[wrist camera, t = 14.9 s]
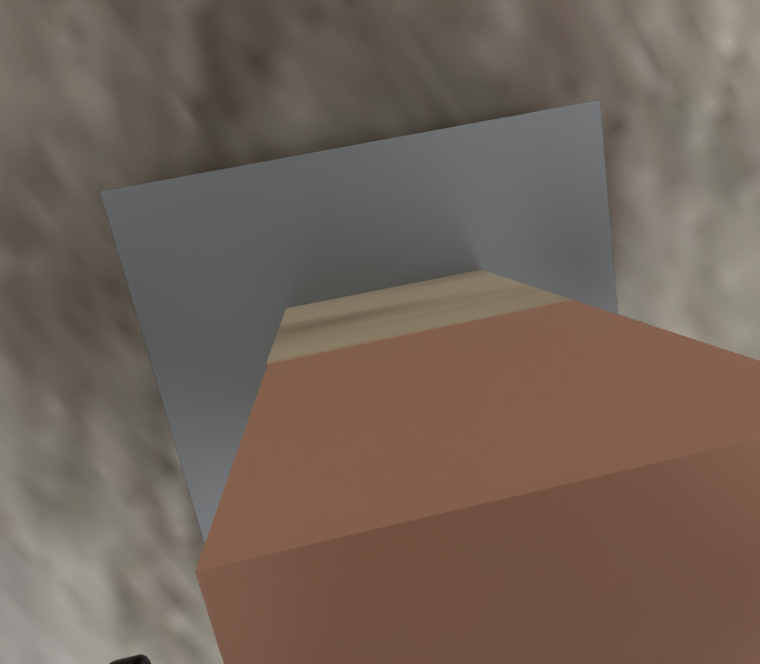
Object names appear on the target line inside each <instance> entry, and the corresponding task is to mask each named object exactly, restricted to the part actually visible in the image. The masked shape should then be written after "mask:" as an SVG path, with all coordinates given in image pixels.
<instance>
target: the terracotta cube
mask: <svg viewBox="0 0 760 664" xmlns="http://www.w3.org/2000/svg"><path fill="white" fill-rule="evenodd" d="M195 572H196V575H197V578H198V582H199V585H200V588H201V591H202V595H203V598H204V601H205V604H206V608H207V611H208V614H209V617H210V620H211V624H212V627H213V630H214V633H215V637H216V640H217V643H218V646H219V649H220V653H221V656H222V659H223V662H224V664H760V361H758V360H755V359H752V358H749V357H746V356H743V355H740V354H736V353H733V352H730V351H727V350H724V349H721V348H718V347H715V346H712V345H709V344H706V343H703V342H700V341H697V340H694V339H691V338H688V337H685V336H682V335H679V334H676V333H673V332H670V331H667V330H664V329H660V328H657V327H654V326H651V325H648V324H645V323H642V322H639V321H636V320H633V319H630V318H627V317H624V316H621V315H618V314H615V313H612V312H609V311H606V310H603V309H600V308H597V307H594V306H591V305H588V304H584V303H581V302H578V301H575V300H569V301H564V302H559V303H555V304H550V305H545V306H540V307H536V308H531V309H526V310H521V311H517V312H512V313H507V314H502V315H498V316H493V317H488V318H483V319H479V320H474V321H469V322H465V323H460V324H455V325H450V326H446V327H441V328H436V329H431V330H427V331H422V332H417V333H412V334H408V335H403V336H398V337H393V338H389V339H384V340H379V341H375V342H370V343H365V344H360V345H356V346H351V347H346V348H341V349H337V350H332V351H327V352H322V353H318V354H313V355H308V356H303V357H299V358H294V359H289V360H284V361H280V362H275V363H270V364H268V365H267V368H266V371H265V373H264V376H263V379H262V382H261V385H260V388H259V391H258V393H257V396H256V399H255V402H254V405H253V408H252V411H251V413H250V416H249V419H248V422H247V425H246V428H245V431H244V433H243V436H242V439H241V442H240V445H239V448H238V451H237V453H236V456H235V459H234V462H233V465H232V468H231V470H230V473H229V476H228V479H227V482H226V485H225V488H224V490H223V493H222V496H221V499H220V502H219V505H218V508H217V510H216V513H215V516H214V519H213V522H212V525H211V528H210V530H209V533H208V536H207V539H206V542H205V545H204V548H203V550H202V553H201V556H200V559H199V562H198V565H197V568H196V570H195Z"/></svg>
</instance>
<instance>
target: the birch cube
mask: <svg viewBox="0 0 760 664" xmlns="http://www.w3.org/2000/svg"><path fill="white" fill-rule="evenodd" d="M569 300H572V299H569V298H566V297H563V296H560V295H557V294H554V293H551V292H548V291H545V290H542V289H539V288H536V287H532V286H529V285H526V284H523V283H520V282H517V281H514V280H511V279H508V278H505V277H502V276H499V275H496V274H493V273H490V272H487V271H484V270H477V271H472V272H467V273H462V274H457V275H452V276H447V277H442V278H437V279H432V280H427V281H422V282H417V283H411V284H406V285H401V286H396V287H391V288H386V289H381V290H376V291H371V292H366V293H361V294H356V295H351V296H346V297H341V298H336V299H331V300H326V301H321V302H316V303H311V304H306V305H301V306H296V307H291V308H286V310H285V313H284V316H283V318H282V321H281V324H280V327H279V329H278V332H277V335H276V338H275V340H274V343H273V346H272V349H271V352H270V354H269V357H268V360H267V365H268V364H270V363H275V362H280V361H284V360H289V359H294V358H299V357H303V356H308V355H313V354H318V353H322V352H327V351H332V350H337V349H341V348H346V347H351V346H356V345H360V344H365V343H370V342H375V341H379V340H384V339H389V338H393V337H398V336H403V335H408V334H412V333H417V332H422V331H427V330H431V329H436V328H441V327H446V326H450V325H455V324H460V323H465V322H469V321H474V320H479V319H483V318H488V317H493V316H498V315H502V314H507V313H512V312H517V311H521V310H526V309H531V308H536V307H540V306H545V305H550V304H555V303H559V302H564V301H569Z"/></svg>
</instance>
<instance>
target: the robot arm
mask: <svg viewBox="0 0 760 664" xmlns="http://www.w3.org/2000/svg"><path fill="white" fill-rule="evenodd" d="M110 664H151V662H150V660H149V659H148V657H147V656H145V655H142V654H139V655H135V656H131V657H127V658H123V659H119V660H115V661H113V662H111V663H110Z"/></svg>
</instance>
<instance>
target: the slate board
mask: <svg viewBox="0 0 760 664" xmlns="http://www.w3.org/2000/svg"><path fill="white" fill-rule="evenodd" d="M100 194H101V197H102V201H103V204H104V207H105V211H106V214H107V217H108V221H109V224H110V227H111V231H112V234H113V238H114V241H115V244H116V248H117V251H118V254H119V258H120V261H121V264H122V268H123V271H124V274H125V278H126V281H127V284H128V288H129V291H130V295H131V298H132V301H133V305H134V308H135V311H136V315H137V318H138V321H139V325H140V328H141V331H142V335H143V338H144V341H145V345H146V348H147V351H148V355H149V358H150V362H151V365H152V368H153V372H154V375H155V378H156V382H157V385H158V388H159V392H160V395H161V398H162V402H163V405H164V408H165V412H166V415H167V419H168V422H169V425H170V429H171V432H172V435H173V439H174V442H175V445H176V449H177V452H178V455H179V459H180V462H181V465H182V469H183V472H184V476H185V479H186V482H187V486H188V489H189V492H190V496H191V499H192V502H193V506H194V509H195V512H196V516H197V519H198V522H199V526H200V529H201V533H202V536H203V539H204V543H205V542H206V539H207V536H208V533H209V530H210V528H211V525H212V522H213V519H214V516H215V513H216V510H217V508H218V505H219V502H220V499H221V496H222V493H223V490H224V488H225V485H226V482H227V479H228V476H229V473H230V470H231V468H232V465H233V462H234V459H235V456H236V453H237V451H238V448H239V445H240V442H241V439H242V436H243V433H244V431H245V428H246V425H247V422H248V419H249V416H250V413H251V411H252V408H253V405H254V402H255V399H256V396H257V393H258V391H259V388H260V385H261V382H262V379H263V376H264V373H265V371H266V368H267V360H268V357H269V354H270V352H271V349H272V346H273V343H274V340H275V338H276V335H277V332H278V329H279V327H280V324H281V321H282V318H283V316H284V313H285V310H286V308H291V307H296V306H301V305H306V304H311V303H316V302H321V301H326V300H331V299H336V298H341V297H346V296H351V295H356V294H361V293H366V292H371V291H376V290H381V289H386V288H391V287H396V286H401V285H406V284H411V283H417V282H422V281H427V280H432V279H437V278H442V277H447V276H452V275H457V274H462V273H467V272H472V271H477V270H484V271H487V272H490V273H493V274H496V275H499V276H502V277H505V278H508V279H511V280H514V281H517V282H520V283H523V284H526V285H529V286H532V287H536V288H539V289H542V290H545V291H548V292H551V293H554V294H557V295H560V296H563V297H566V298H569V299H572V300H575V301H578V302H581V303H584V304H588V305H591V306H594V307H597V308H600V309H603V310H606V311H609V312H612V313H615V314H618V310H617V298H616V286H615V274H614V262H613V251H612V239H611V227H610V215H609V203H608V191H607V179H606V167H605V155H604V144H603V132H602V120H601V108H600V100H597V101H591V102H586V103H580V104H575V105H569V106H564V107H558V108H553V109H547V110H542V111H536V112H531V113H526V114H520V115H515V116H509V117H504V118H498V119H493V120H487V121H482V122H476V123H471V124H466V125H460V126H455V127H449V128H444V129H438V130H433V131H427V132H422V133H416V134H411V135H405V136H400V137H395V138H389V139H384V140H378V141H373V142H367V143H362V144H356V145H351V146H345V147H340V148H334V149H329V150H324V151H318V152H313V153H307V154H302V155H296V156H291V157H285V158H280V159H274V160H269V161H264V162H258V163H253V164H247V165H242V166H236V167H231V168H225V169H220V170H214V171H209V172H203V173H198V174H193V175H187V176H182V177H176V178H171V179H165V180H160V181H154V182H149V183H143V184H138V185H132V186H127V187H122V188H116V189H111V190H105V191H100Z"/></svg>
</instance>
